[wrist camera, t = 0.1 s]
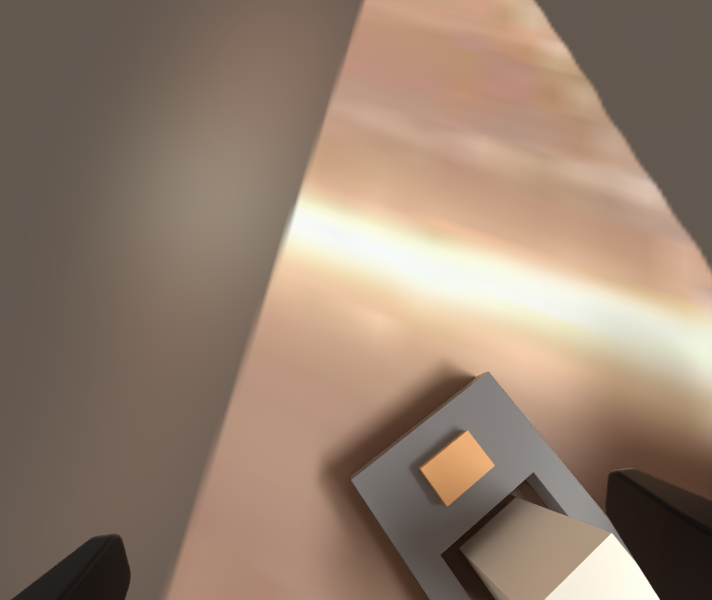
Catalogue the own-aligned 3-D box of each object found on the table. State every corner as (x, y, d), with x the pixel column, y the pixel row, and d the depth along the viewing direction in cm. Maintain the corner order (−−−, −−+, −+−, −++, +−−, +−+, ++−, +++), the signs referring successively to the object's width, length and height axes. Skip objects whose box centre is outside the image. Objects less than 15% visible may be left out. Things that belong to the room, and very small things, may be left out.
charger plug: (569, 567, 20) (706, 649, 13) (512, 624, 19) (620, 748, 12) (515, 497, 21) (611, 532, 14) (458, 548, 20) (526, 616, 13)
